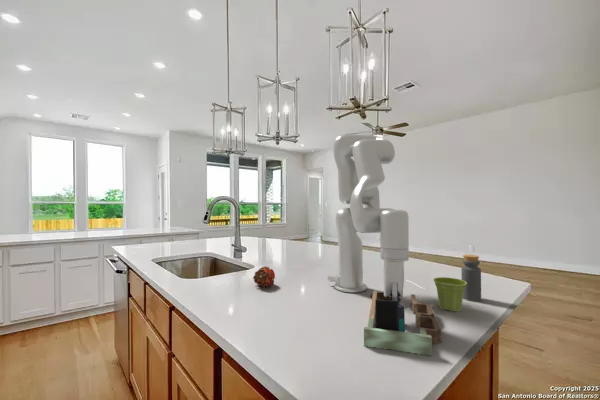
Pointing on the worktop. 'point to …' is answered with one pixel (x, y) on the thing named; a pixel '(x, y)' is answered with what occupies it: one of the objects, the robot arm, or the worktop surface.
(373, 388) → the worktop surface
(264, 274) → the dragon fruit
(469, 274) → the bottle
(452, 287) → the plant pot
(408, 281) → the white baseball bat
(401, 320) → the black blue bulged block
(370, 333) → the trap channel
